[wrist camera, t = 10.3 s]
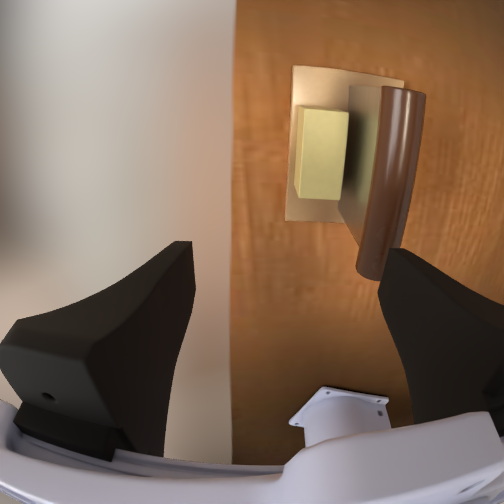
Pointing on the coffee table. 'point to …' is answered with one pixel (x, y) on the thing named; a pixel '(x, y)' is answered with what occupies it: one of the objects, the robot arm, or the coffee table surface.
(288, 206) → the board
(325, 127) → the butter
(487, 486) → the robot arm
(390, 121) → the scraper
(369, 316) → the coffee table surface
